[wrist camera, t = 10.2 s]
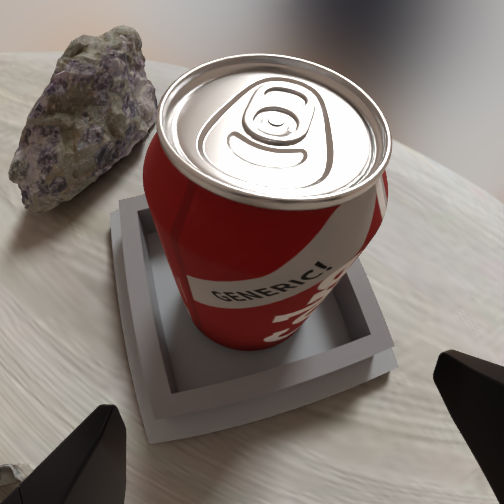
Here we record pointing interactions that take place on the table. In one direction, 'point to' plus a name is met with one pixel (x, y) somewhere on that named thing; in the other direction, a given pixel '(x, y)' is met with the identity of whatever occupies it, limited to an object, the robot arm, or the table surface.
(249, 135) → the soda can
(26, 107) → the table surface
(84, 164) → the mineral rock
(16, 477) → the egg carton
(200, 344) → the square gray tray
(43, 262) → the table surface
